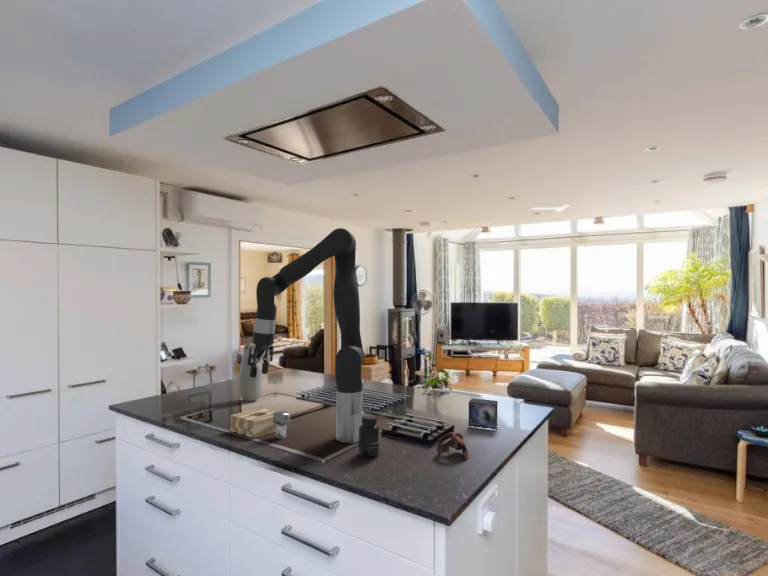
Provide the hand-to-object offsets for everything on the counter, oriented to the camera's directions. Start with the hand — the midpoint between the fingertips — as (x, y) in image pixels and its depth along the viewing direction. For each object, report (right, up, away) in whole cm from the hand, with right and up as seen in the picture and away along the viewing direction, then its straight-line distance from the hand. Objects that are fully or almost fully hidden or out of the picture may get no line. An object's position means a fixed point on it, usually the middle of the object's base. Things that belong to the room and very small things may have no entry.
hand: (258, 375), depth 158 cm
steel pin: (+9, -22, -3) cm, 24 cm away
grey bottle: (-19, -23, +52) cm, 60 cm away
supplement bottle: (+41, -22, -19) cm, 50 cm away
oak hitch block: (-2, -22, +5) cm, 22 cm away
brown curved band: (+68, -22, -19) cm, 74 cm away
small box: (+85, -23, +11) cm, 88 cm away
